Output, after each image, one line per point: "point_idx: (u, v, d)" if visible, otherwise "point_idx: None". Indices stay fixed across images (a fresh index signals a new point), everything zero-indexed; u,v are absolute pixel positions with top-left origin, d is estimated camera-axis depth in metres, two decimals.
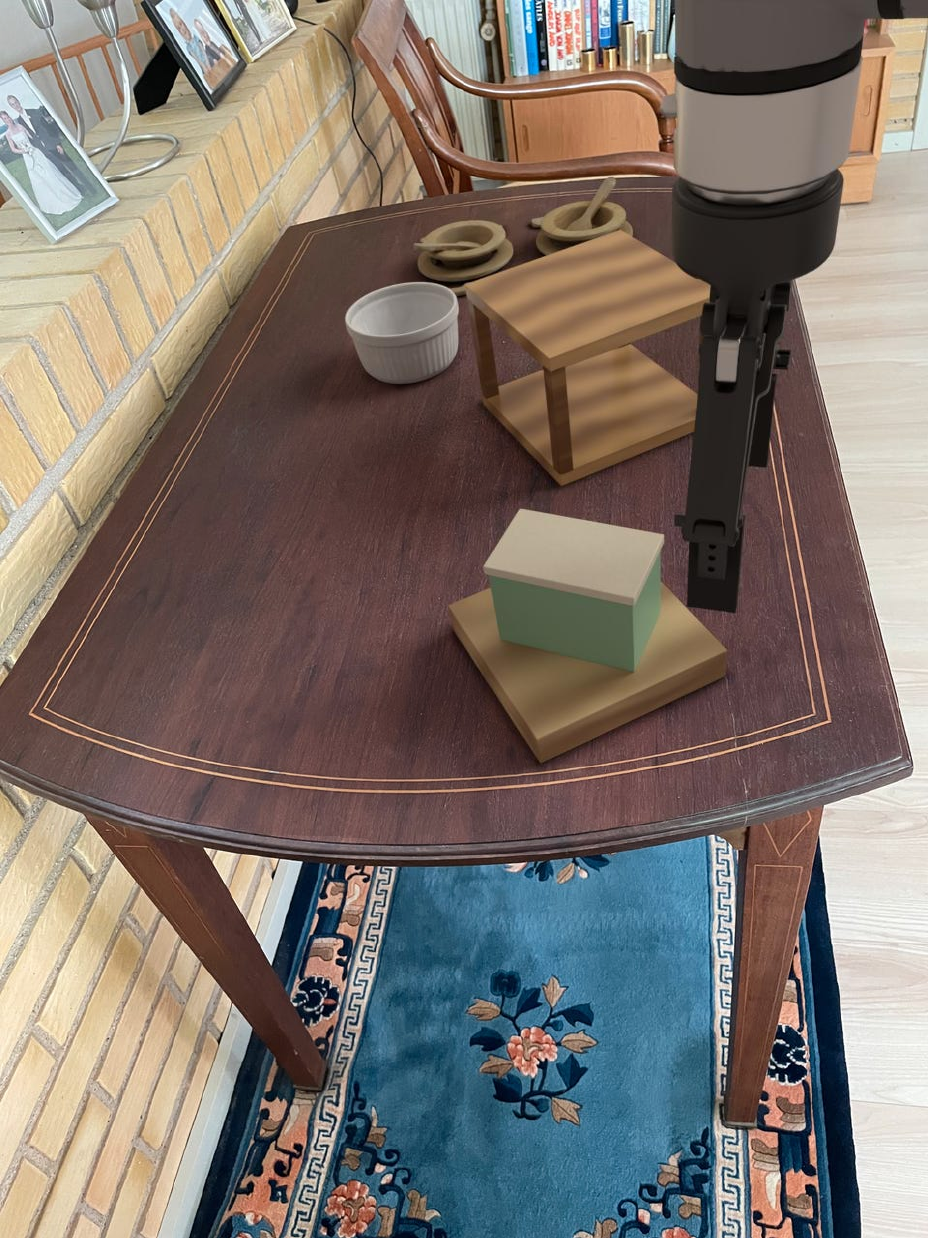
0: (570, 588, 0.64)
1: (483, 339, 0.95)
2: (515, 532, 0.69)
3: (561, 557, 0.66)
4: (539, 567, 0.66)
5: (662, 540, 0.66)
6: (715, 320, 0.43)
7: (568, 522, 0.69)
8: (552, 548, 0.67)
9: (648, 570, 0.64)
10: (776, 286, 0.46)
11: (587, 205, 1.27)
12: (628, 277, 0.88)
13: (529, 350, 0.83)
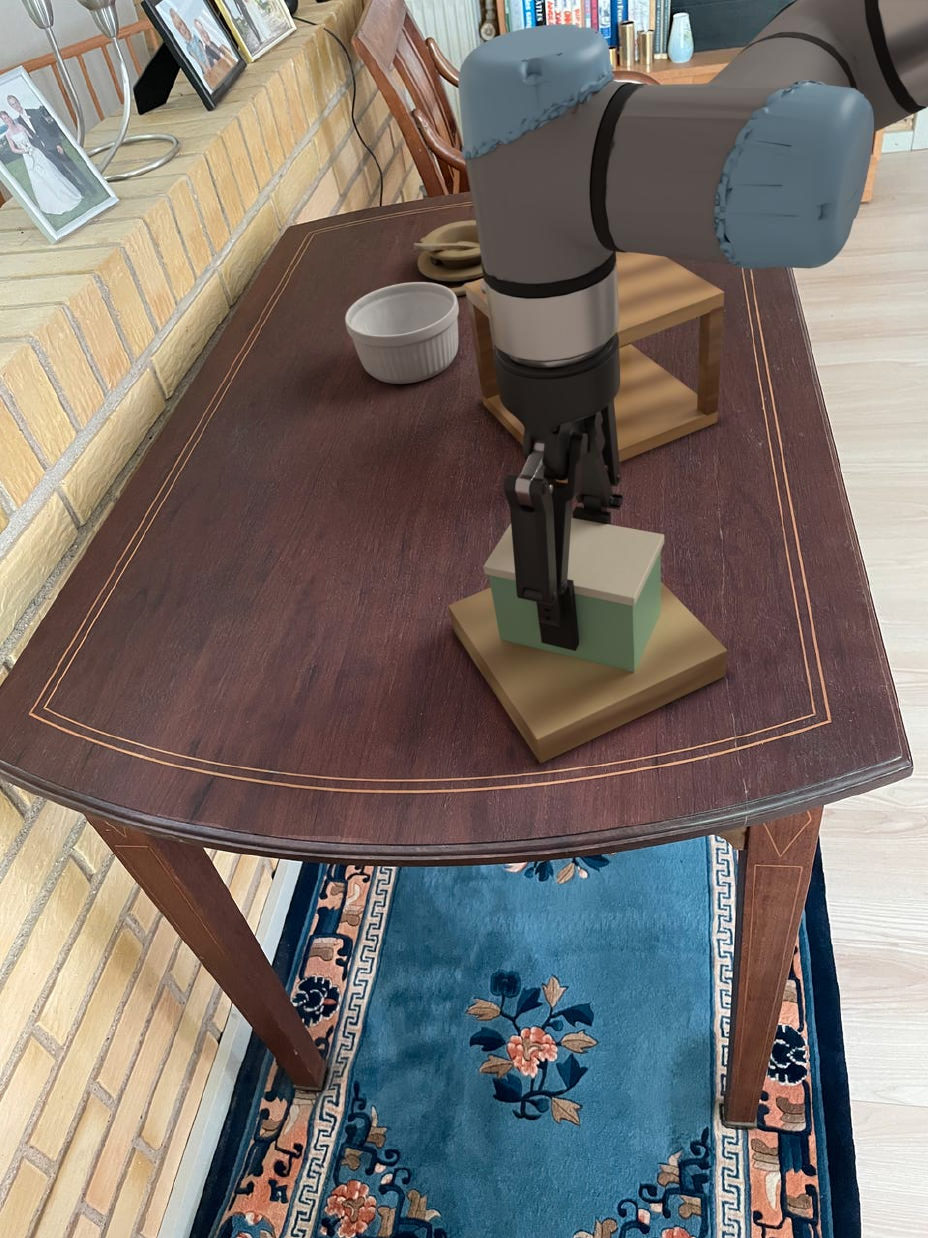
0: None
1: (483, 339, 0.95)
2: None
3: None
4: None
5: (662, 540, 0.66)
6: (523, 445, 0.56)
7: None
8: None
9: (648, 570, 0.64)
10: None
11: None
12: (628, 277, 0.88)
13: None
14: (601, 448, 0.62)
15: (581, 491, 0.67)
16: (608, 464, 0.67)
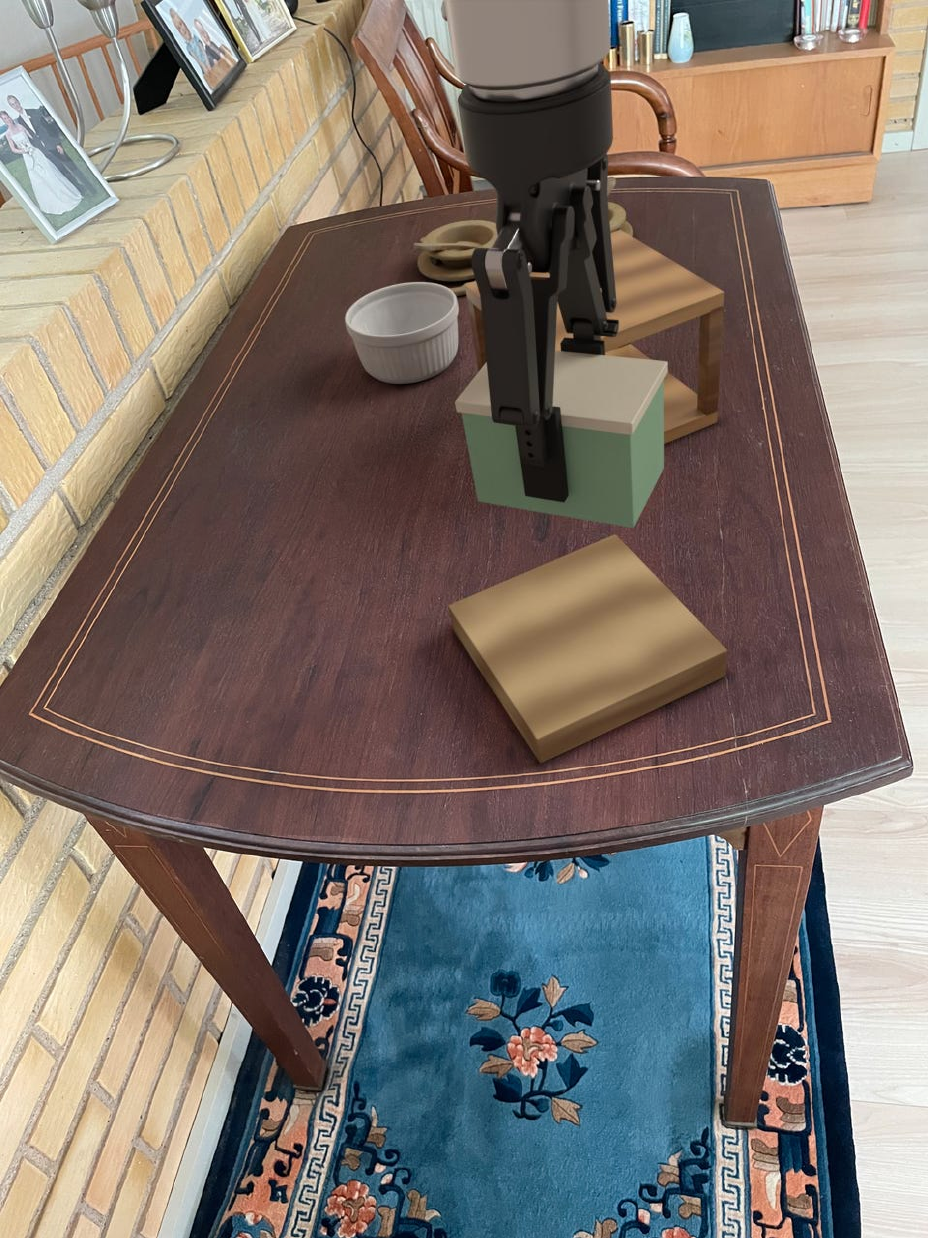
0: None
1: (483, 339, 0.95)
2: None
3: None
4: None
5: (665, 367, 0.56)
6: None
7: (555, 354, 0.59)
8: None
9: (649, 397, 0.54)
10: (573, 188, 0.49)
11: None
12: (628, 277, 0.88)
13: None
14: (592, 243, 0.52)
15: (570, 313, 0.57)
16: (601, 281, 0.57)
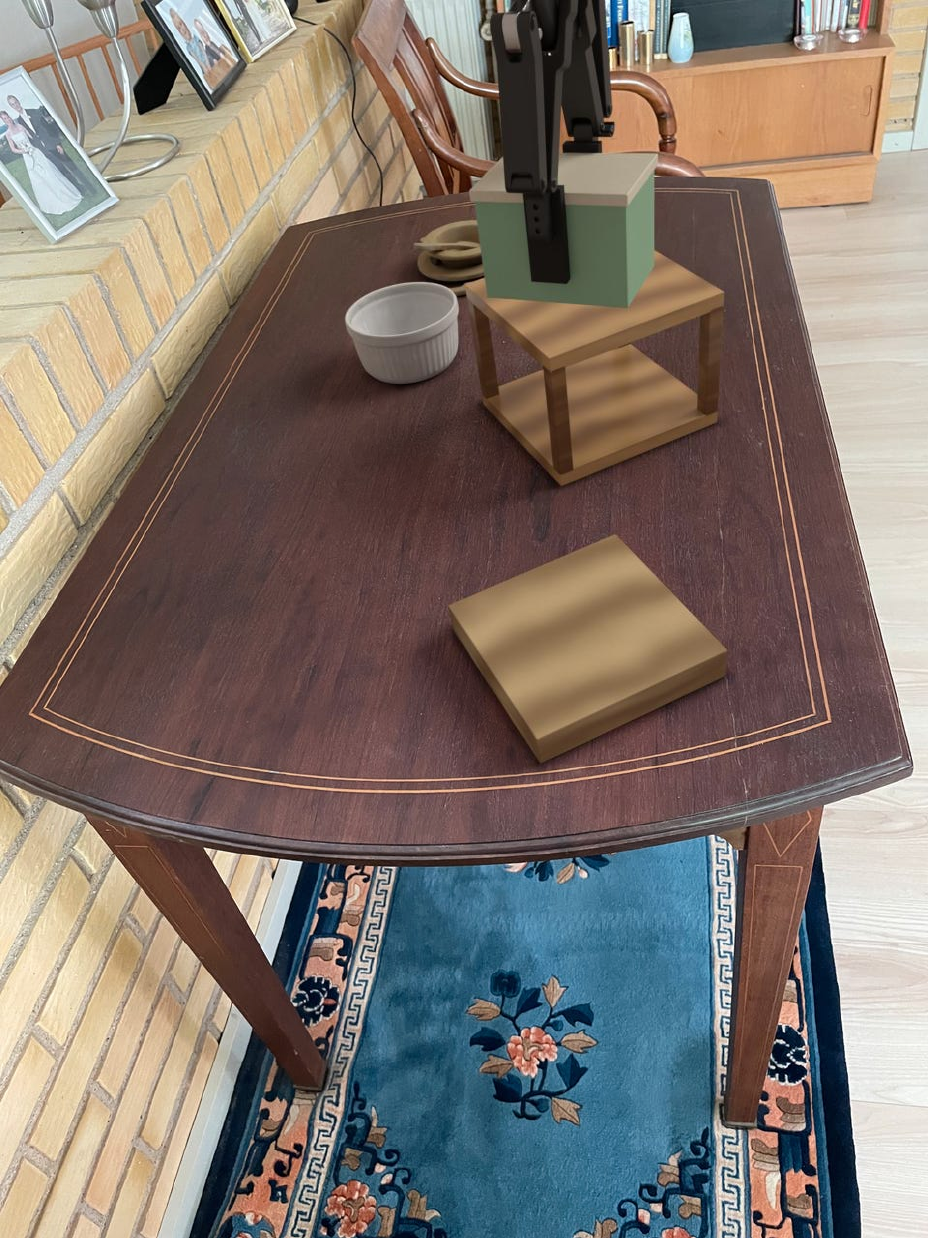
0: None
1: (483, 339, 0.95)
2: (502, 166, 0.66)
3: None
4: None
5: (656, 158, 0.63)
6: None
7: None
8: None
9: (642, 178, 0.61)
10: None
11: None
12: None
13: (529, 350, 0.83)
14: (592, 33, 0.59)
15: (571, 113, 0.64)
16: (599, 84, 0.64)
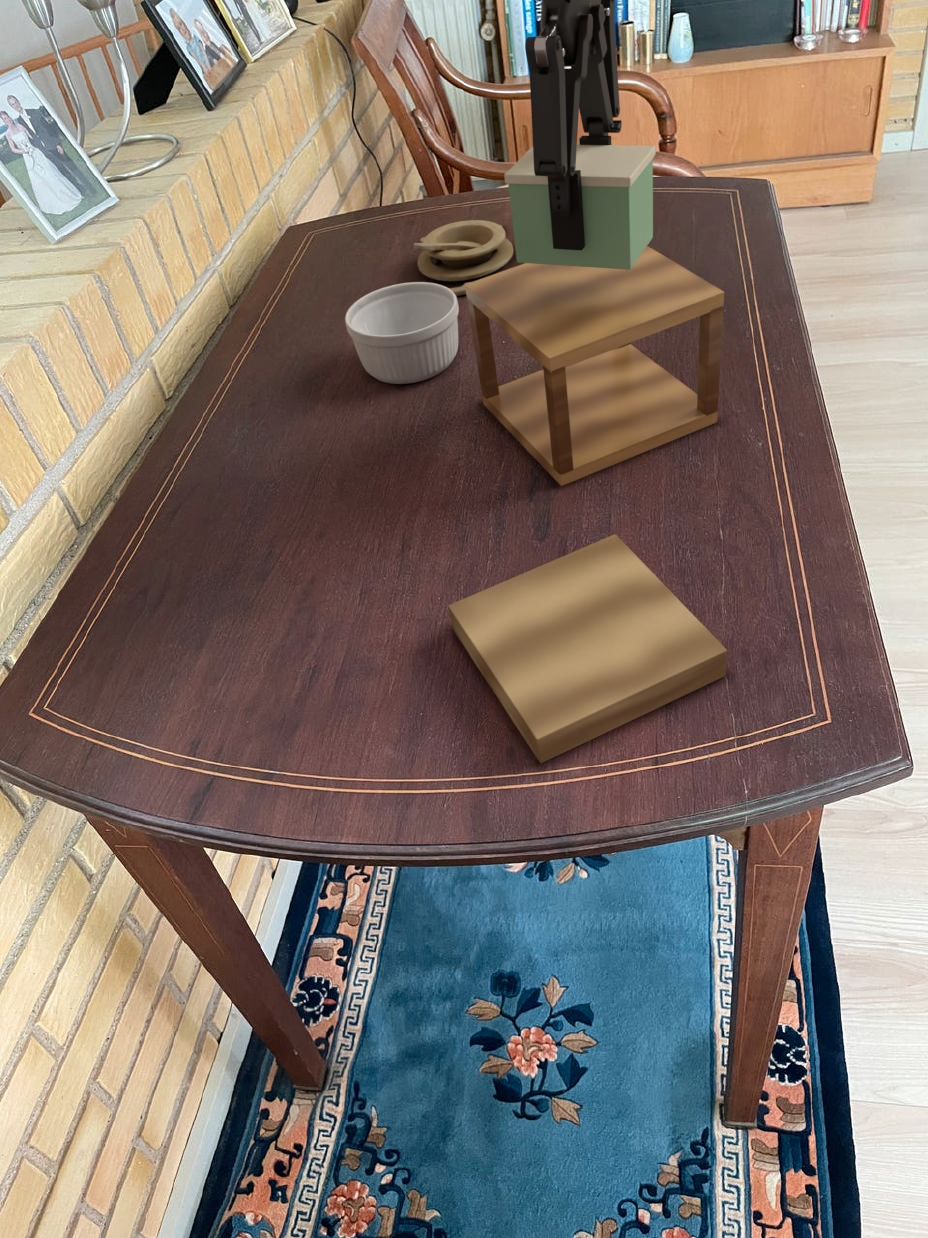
0: None
1: (483, 339, 0.95)
2: (530, 155, 0.82)
3: None
4: None
5: (654, 149, 0.79)
6: None
7: None
8: None
9: (642, 165, 0.77)
10: (592, 5, 0.72)
11: None
12: (628, 277, 0.88)
13: (529, 350, 0.83)
14: (604, 50, 0.75)
15: (587, 113, 0.80)
16: (609, 90, 0.80)
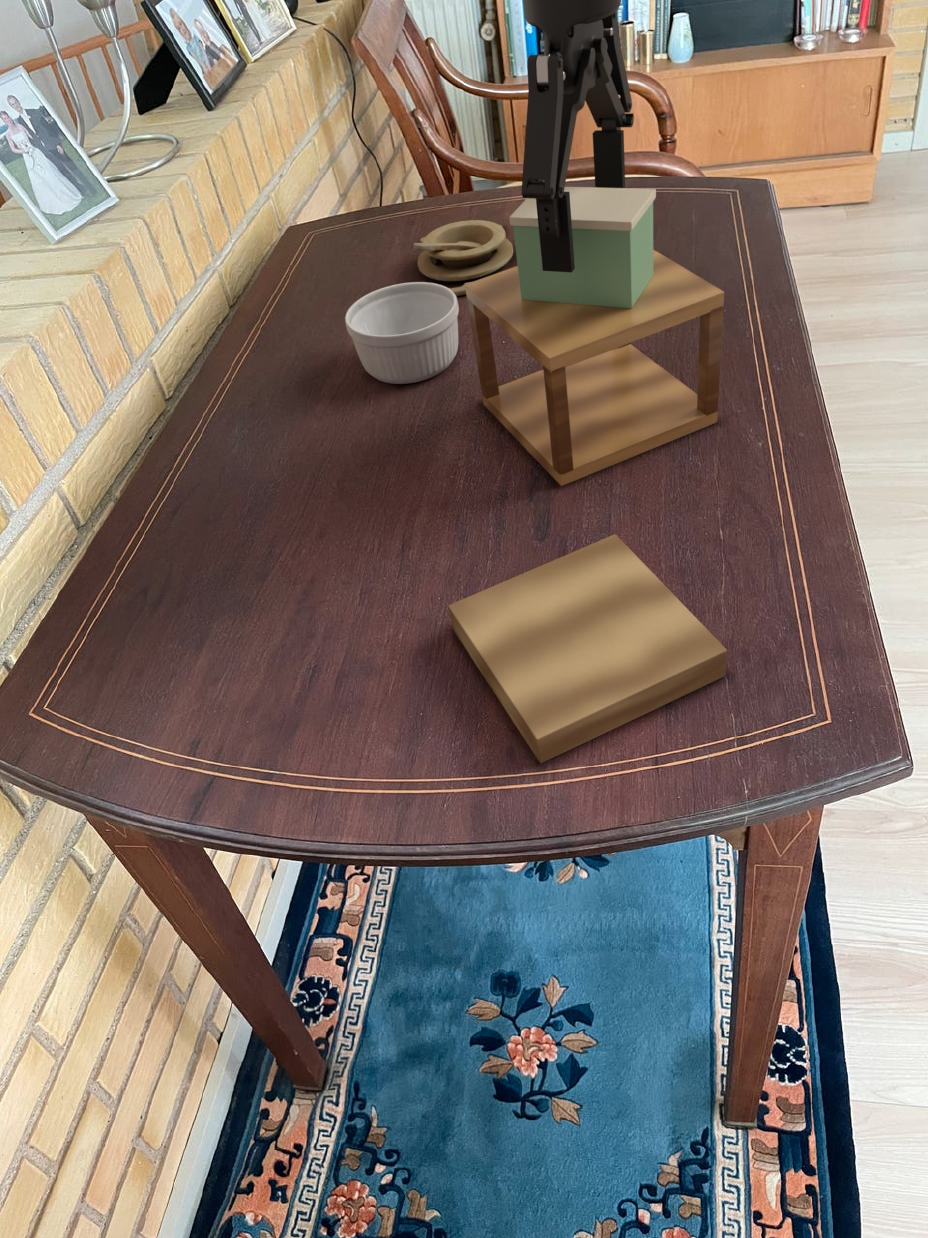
0: (580, 223, 0.80)
1: (483, 339, 0.95)
2: None
3: (572, 207, 0.82)
4: None
5: (654, 193, 0.82)
6: (544, 52, 0.71)
7: (578, 189, 0.84)
8: None
9: (643, 208, 0.80)
10: (593, 41, 0.73)
11: None
12: None
13: (529, 350, 0.83)
14: (609, 71, 0.76)
15: (599, 115, 0.82)
16: (620, 93, 0.82)
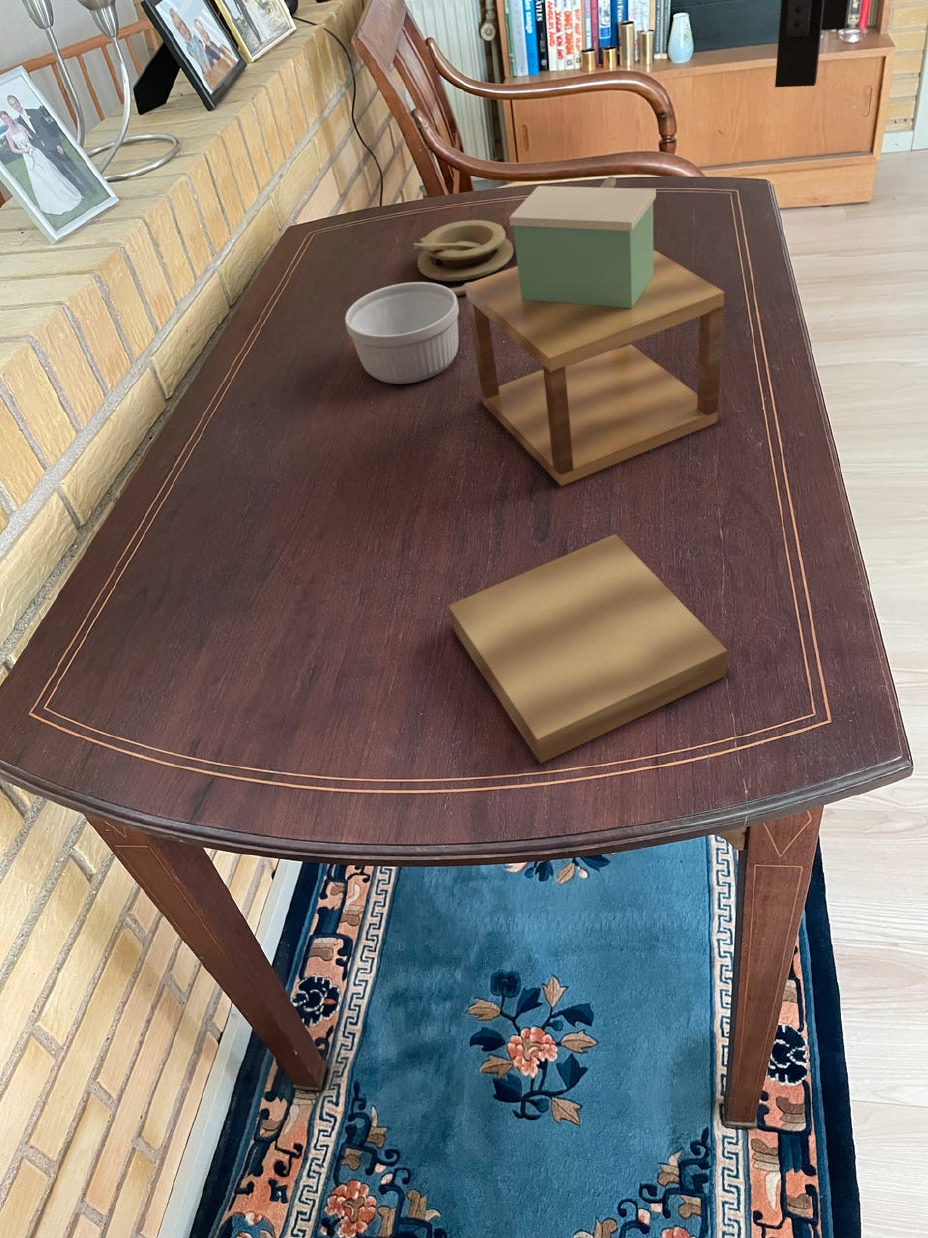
0: (580, 223, 0.80)
1: (483, 339, 0.95)
2: (534, 197, 0.84)
3: (572, 207, 0.82)
4: (555, 213, 0.81)
5: (654, 193, 0.82)
6: None
7: (578, 189, 0.84)
8: (565, 203, 0.82)
9: (643, 208, 0.80)
10: None
11: None
12: None
13: (529, 350, 0.83)
14: None
15: None
16: None
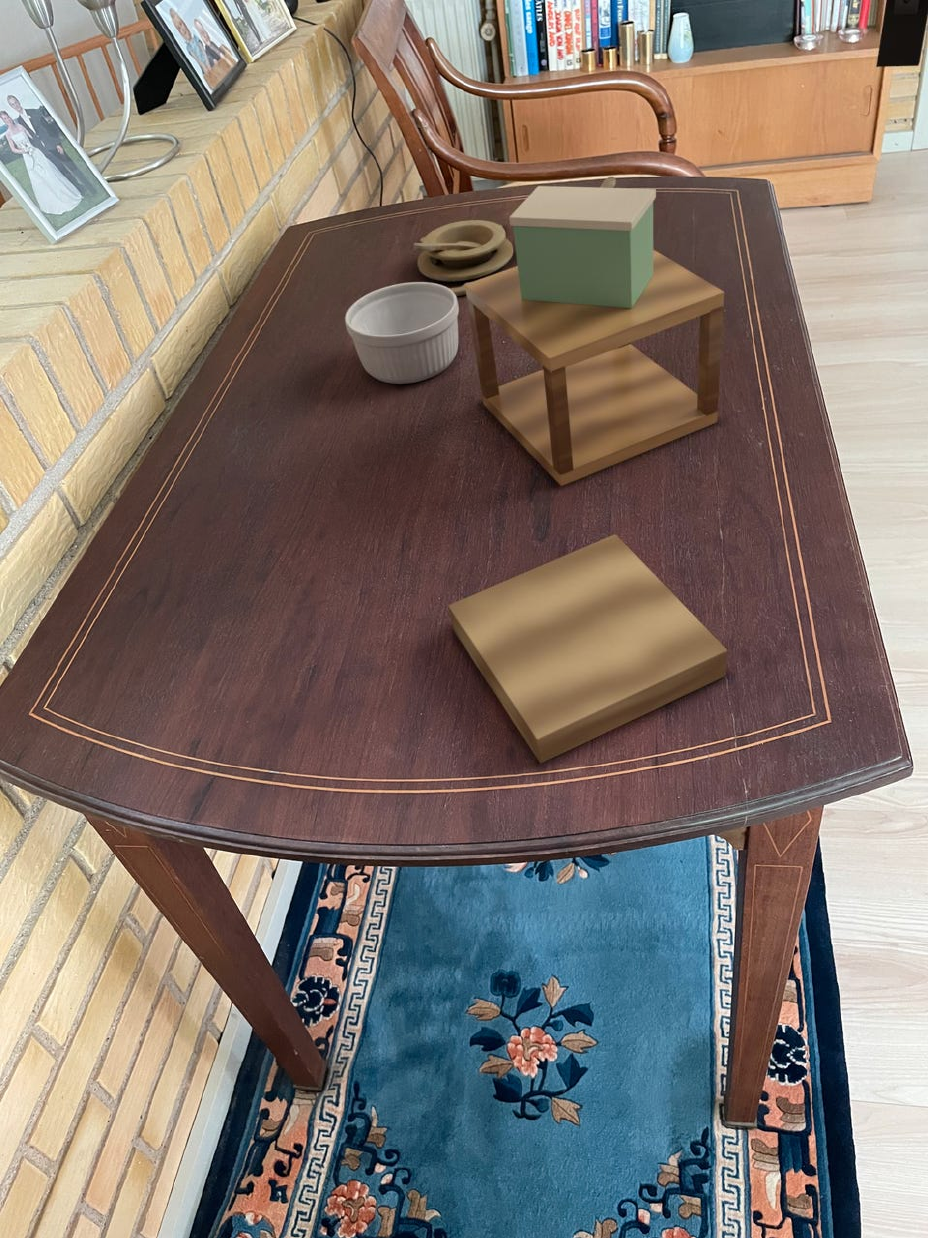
0: (580, 223, 0.80)
1: (483, 339, 0.95)
2: (534, 197, 0.84)
3: (572, 207, 0.82)
4: (555, 213, 0.81)
5: (654, 193, 0.82)
6: None
7: (578, 189, 0.84)
8: (565, 203, 0.82)
9: (643, 208, 0.80)
10: None
11: None
12: None
13: (529, 350, 0.83)
14: None
15: None
16: None
